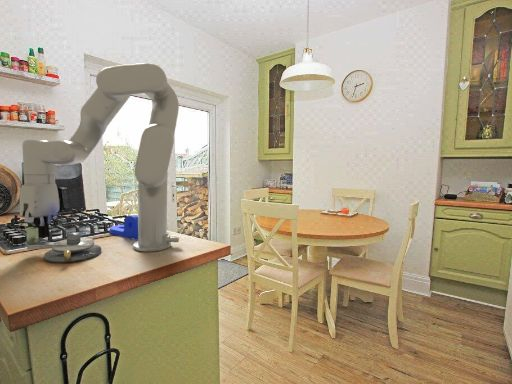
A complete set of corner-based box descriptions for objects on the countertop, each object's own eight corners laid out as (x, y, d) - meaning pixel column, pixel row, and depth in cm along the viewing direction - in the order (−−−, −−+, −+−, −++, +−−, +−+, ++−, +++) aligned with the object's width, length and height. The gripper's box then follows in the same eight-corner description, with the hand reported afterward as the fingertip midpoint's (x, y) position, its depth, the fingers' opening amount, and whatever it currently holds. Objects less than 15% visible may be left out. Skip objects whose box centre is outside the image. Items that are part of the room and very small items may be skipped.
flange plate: (98, 241, 92) (98, 223, 91) (86, 252, 81) (86, 231, 80) (37, 242, 88) (36, 223, 87) (16, 254, 77) (15, 232, 76)
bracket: (153, 235, 111) (153, 213, 110) (136, 240, 103) (136, 217, 102) (122, 228, 118) (122, 208, 117) (105, 232, 111) (104, 211, 110)
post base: (108, 246, 94) (108, 236, 93) (86, 264, 78) (86, 251, 78) (61, 246, 92) (61, 235, 91) (29, 264, 76) (28, 251, 75)
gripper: (49, 177, 92) (52, 230, 94) (4, 181, 77) (8, 243, 79) (70, 179, 91) (72, 231, 93) (28, 182, 76) (31, 245, 78)
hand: (42, 237), depth 86 cm, fingers closed
